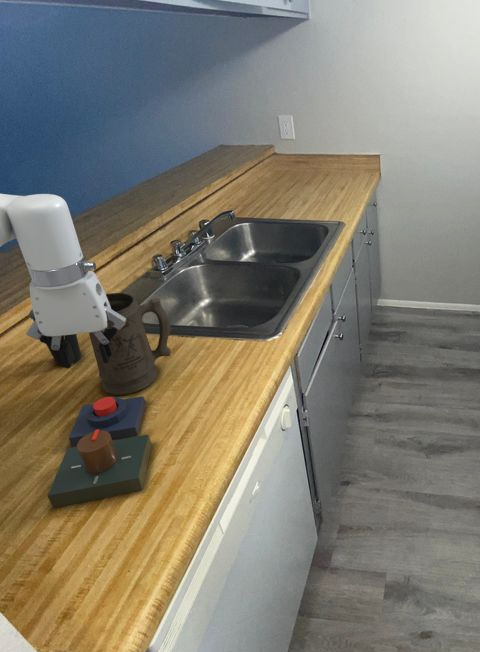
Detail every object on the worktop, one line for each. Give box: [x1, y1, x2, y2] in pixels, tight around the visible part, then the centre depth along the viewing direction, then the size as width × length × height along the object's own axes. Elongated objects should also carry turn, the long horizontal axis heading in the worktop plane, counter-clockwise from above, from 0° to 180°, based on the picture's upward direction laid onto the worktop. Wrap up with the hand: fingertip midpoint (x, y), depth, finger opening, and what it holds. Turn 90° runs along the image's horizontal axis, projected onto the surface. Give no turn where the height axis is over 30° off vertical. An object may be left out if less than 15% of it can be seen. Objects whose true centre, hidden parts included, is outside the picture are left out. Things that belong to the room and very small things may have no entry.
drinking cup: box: [28, 308, 82, 367], centre depth 105 cm, size 8×8×20 cm
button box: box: [68, 395, 147, 448], centre depth 91 cm, size 11×9×4 cm
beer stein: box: [88, 292, 172, 396], centre depth 101 cm, size 15×11×20 cm
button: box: [93, 396, 117, 417], centre depth 90 cm, size 4×4×2 cm
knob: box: [76, 429, 118, 474], centre depth 79 cm, size 5×5×5 cm
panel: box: [47, 433, 153, 509], centre depth 81 cm, size 13×10×3 cm
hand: (89, 360), depth 85 cm, fingers open, 5 cm apart
